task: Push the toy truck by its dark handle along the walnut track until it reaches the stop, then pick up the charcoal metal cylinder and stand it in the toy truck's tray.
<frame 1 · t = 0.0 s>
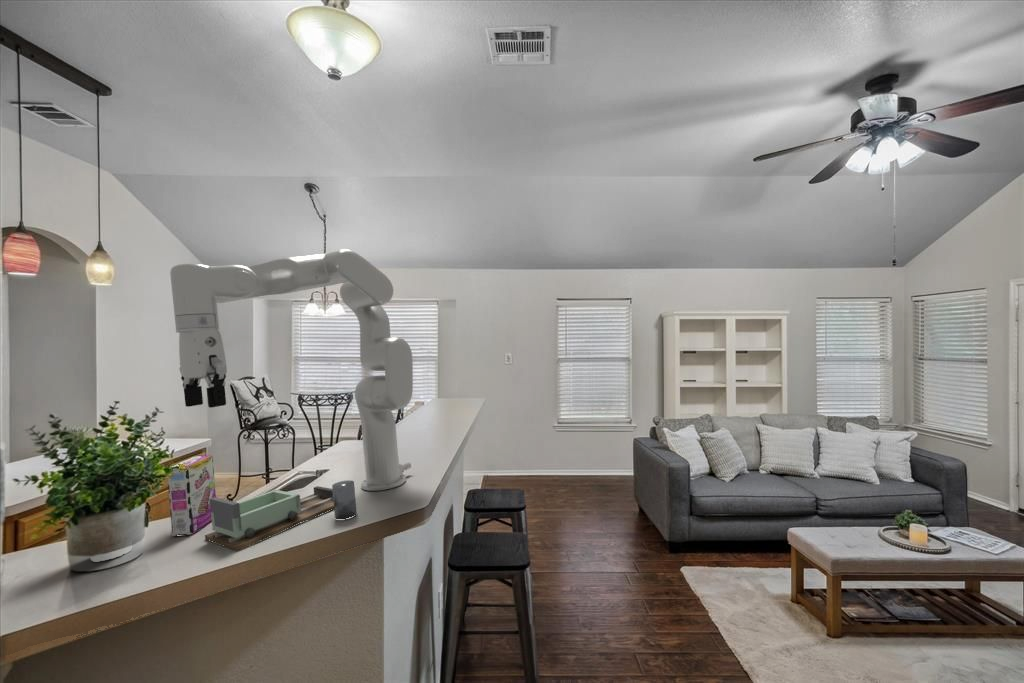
hand: (205, 405, 98), 31 cm above the worktop, tool pointing down, fingers open, 9 cm apart
candy bar box: (196, 527, 115), on the worktop
track: (281, 520, 114), on the worktop
toy truck: (257, 507, 110), point 5 cm above the worktop, slide at 0.0 cm
metal cylinder: (346, 516, 113), on the worktop
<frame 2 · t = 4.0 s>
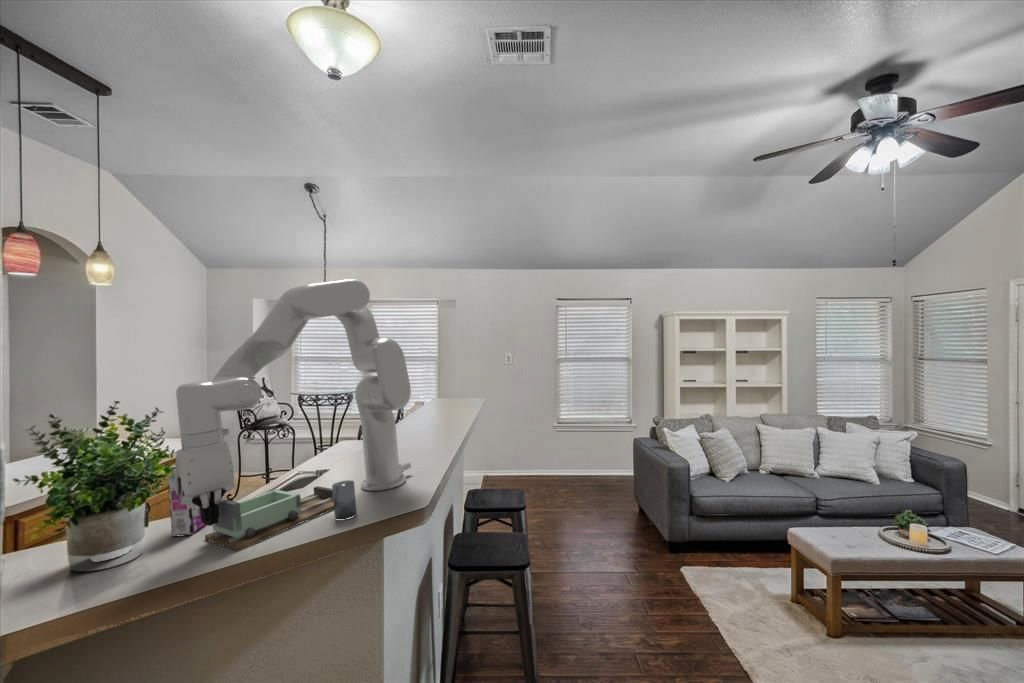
hand: (210, 523, 101), 5 cm above the worktop, tool pointing down, fingers closed
toy truck: (257, 506, 110), point 5 cm above the worktop, slide at 0.1 cm, touching gripper
everything else where it was.
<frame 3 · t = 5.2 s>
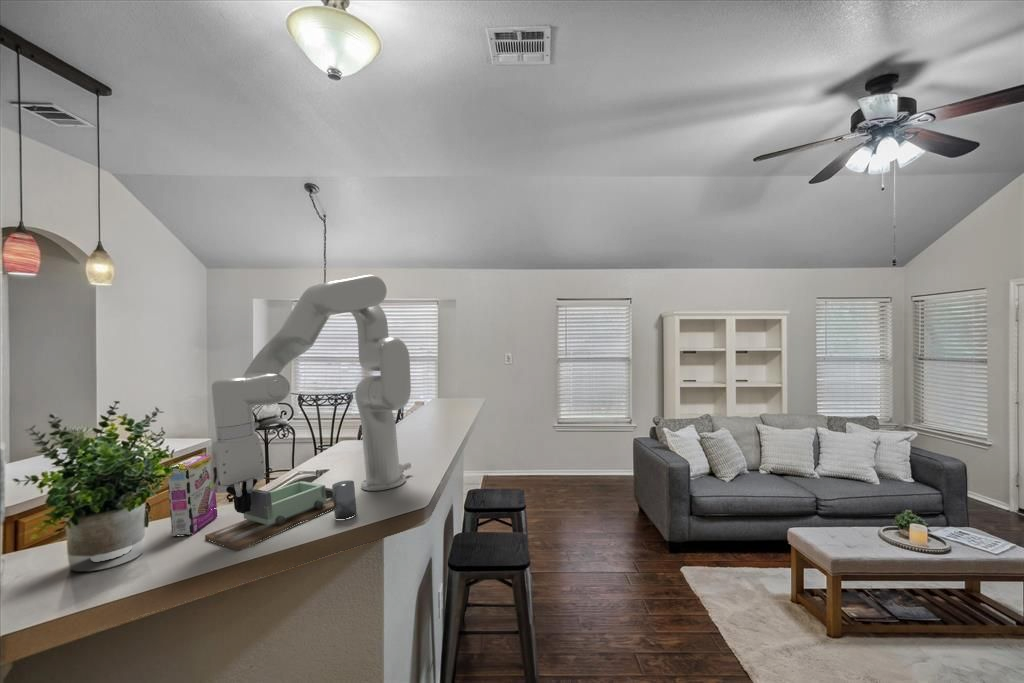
hand: (243, 511, 107), 5 cm above the worktop, tool pointing down, fingers closed
toy truck: (285, 496, 115), point 5 cm above the worktop, slide at 7.0 cm, touching gripper
everything else where it was.
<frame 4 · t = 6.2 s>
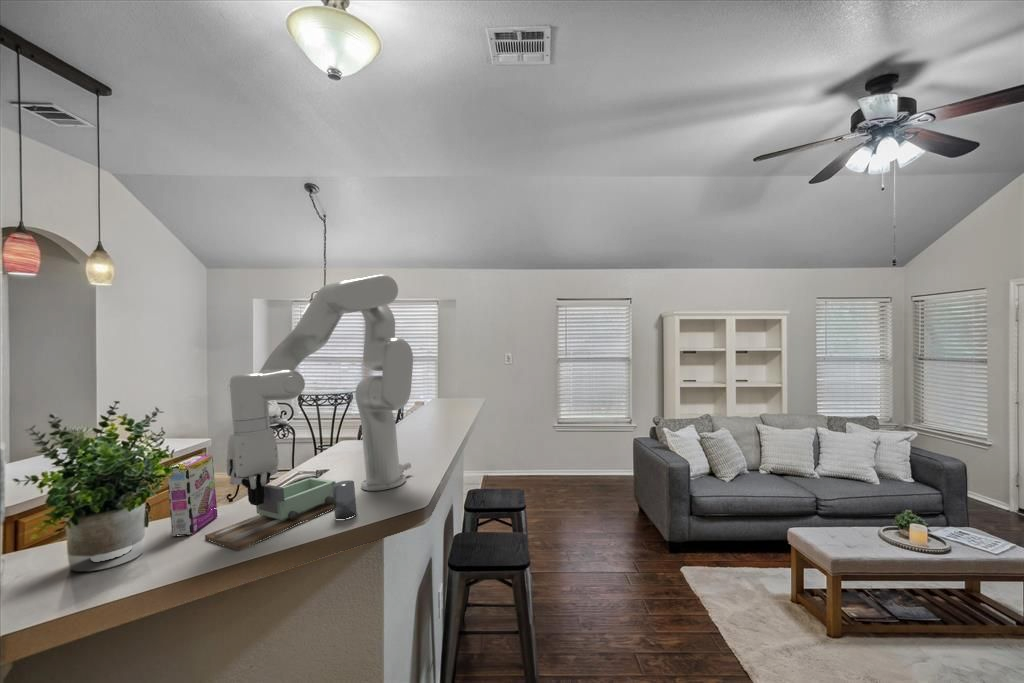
hand: (256, 503, 110), 6 cm above the worktop, tool pointing down, fingers closed
toy truck: (296, 492, 118), point 5 cm above the worktop, slide at 10.1 cm, touching gripper
everything else where it was.
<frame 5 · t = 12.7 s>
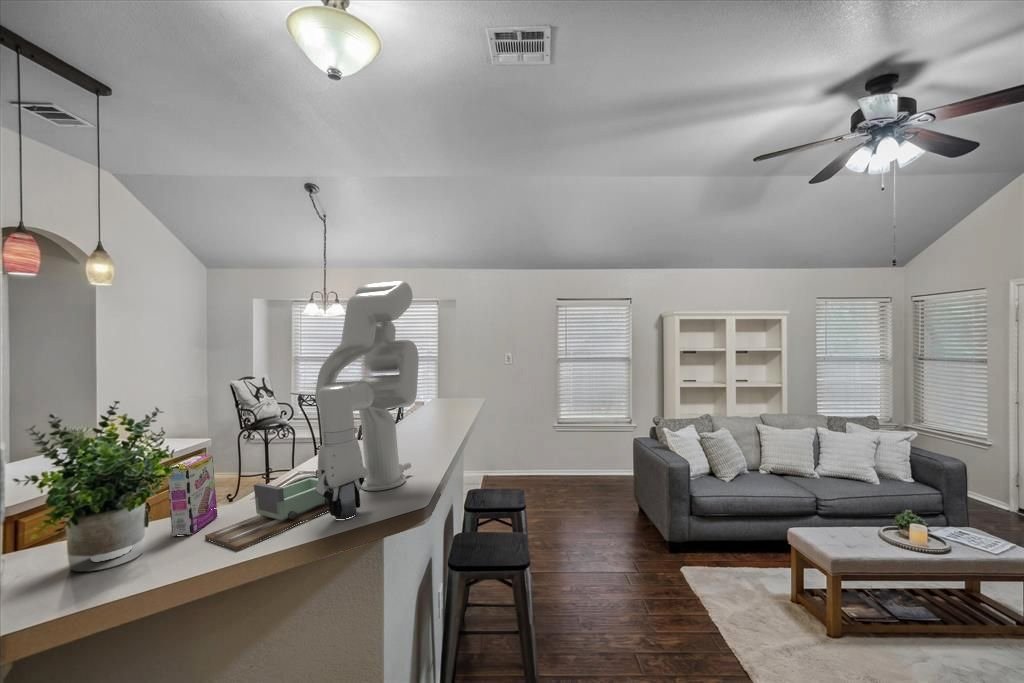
hand: (345, 510, 113), 1 cm above the worktop, tool pointing down, fingers closed on metal cylinder, 5 cm apart
toy truck: (296, 492, 118), point 5 cm above the worktop, slide at 10.0 cm
metal cylinder: (346, 516, 113), on the worktop, touching gripper
everything else where it was.
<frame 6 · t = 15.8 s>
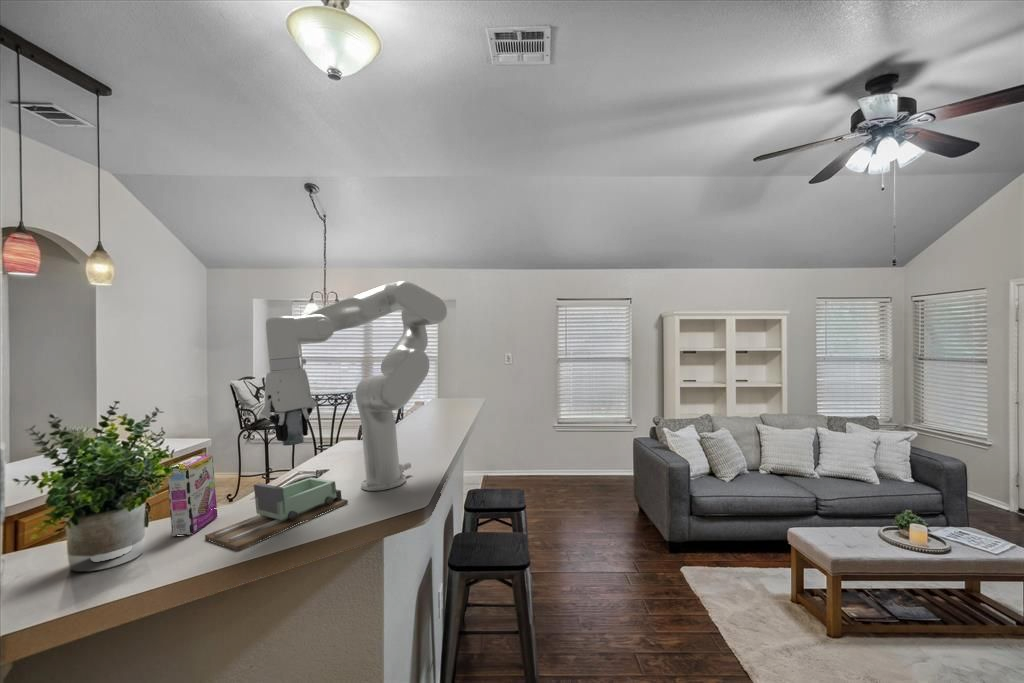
hand: (292, 437, 117), 19 cm above the worktop, tool pointing down, fingers closed on metal cylinder, 5 cm apart
metal cylinder: (293, 443, 117), point 18 cm above the worktop, touching gripper
everything else where it was.
when the fingers open (6 cm above the worktop, at t = 18.7 s): metal cylinder drops 2 cm, resting on toy truck.
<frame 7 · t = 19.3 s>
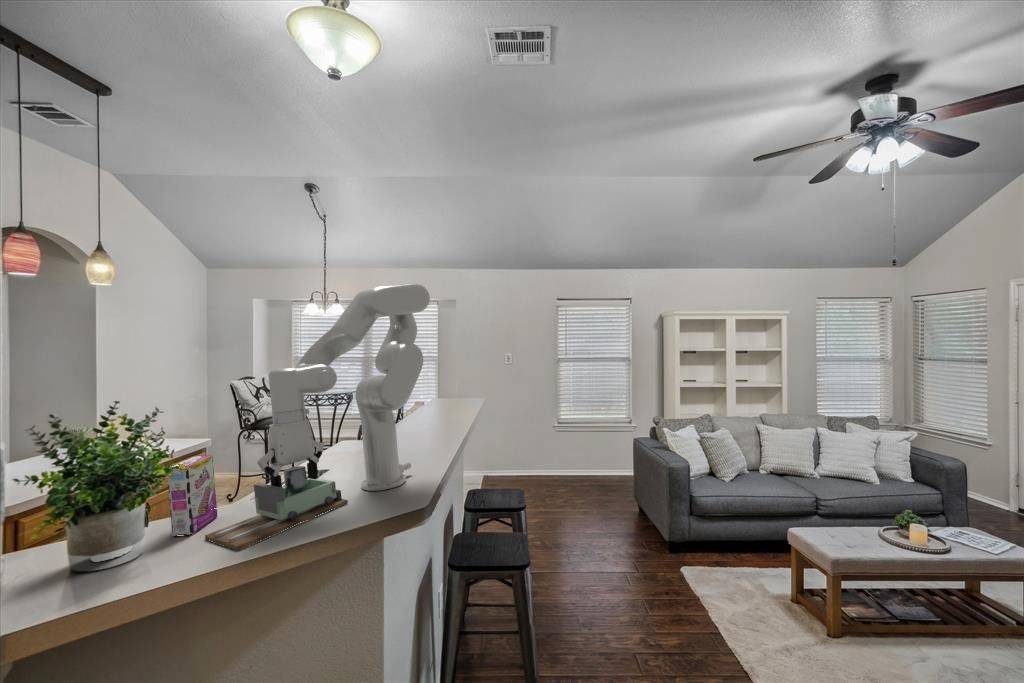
hand: (295, 484, 118), 7 cm above the worktop, tool pointing down, fingers open, 9 cm apart
toy truck: (296, 492, 118), point 5 cm above the worktop, slide at 10.0 cm, touching metal cylinder
metal cylinder: (297, 500, 118), point 3 cm above the worktop, touching toy truck
everything else where it was.
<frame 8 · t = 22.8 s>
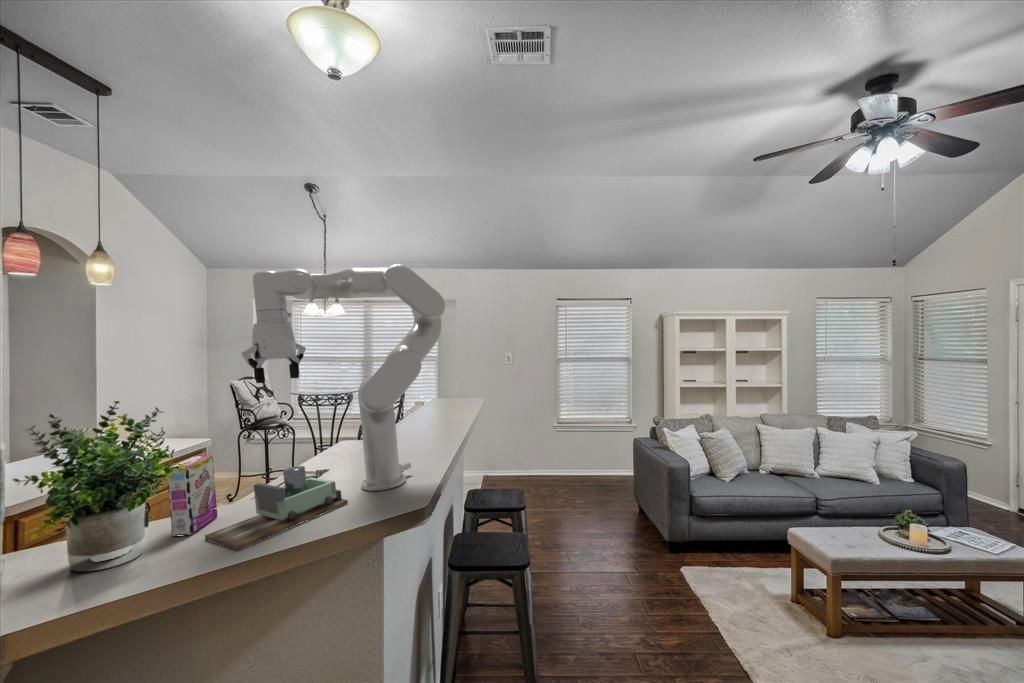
hand: (278, 380, 127), 33 cm above the worktop, tool pointing down, fingers open, 9 cm apart
nothing on the worktop moved.
at the end: toy truck slide at 10.0 cm; metal cylinder inside the target area on the track (0.1 cm from its centre), point 3.3 cm above the track's base; metal cylinder tilted 1° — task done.
